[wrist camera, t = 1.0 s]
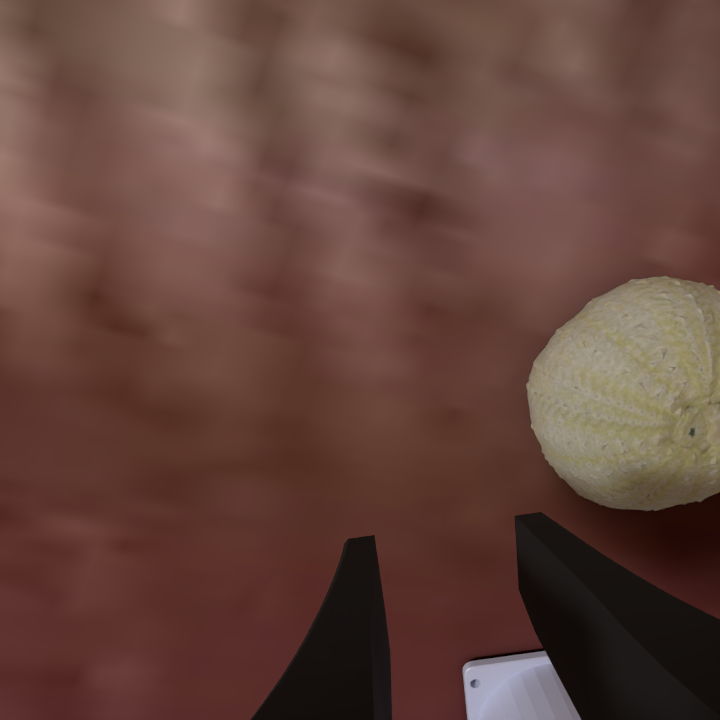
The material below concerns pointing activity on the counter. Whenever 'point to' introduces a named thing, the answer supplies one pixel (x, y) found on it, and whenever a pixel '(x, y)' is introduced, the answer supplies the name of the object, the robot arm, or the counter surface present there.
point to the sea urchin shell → (634, 396)
